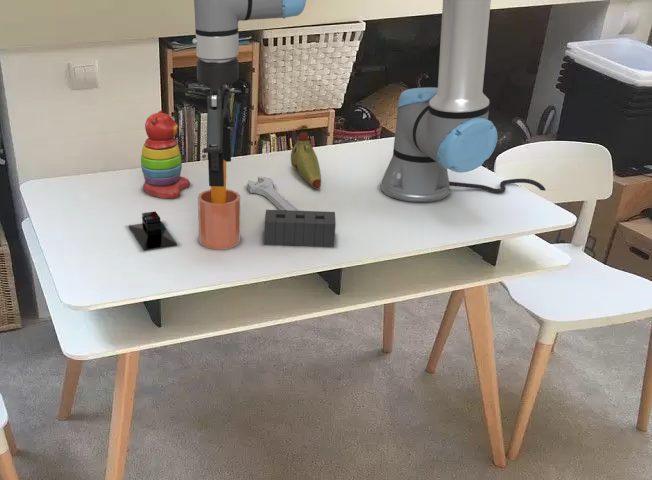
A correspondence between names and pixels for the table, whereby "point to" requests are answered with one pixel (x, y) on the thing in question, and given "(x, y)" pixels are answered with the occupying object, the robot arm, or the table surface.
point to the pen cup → (219, 221)
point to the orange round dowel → (219, 190)
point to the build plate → (152, 233)
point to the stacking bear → (162, 158)
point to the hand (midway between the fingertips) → (220, 173)
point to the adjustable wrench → (270, 193)
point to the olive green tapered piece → (306, 161)
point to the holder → (299, 228)
